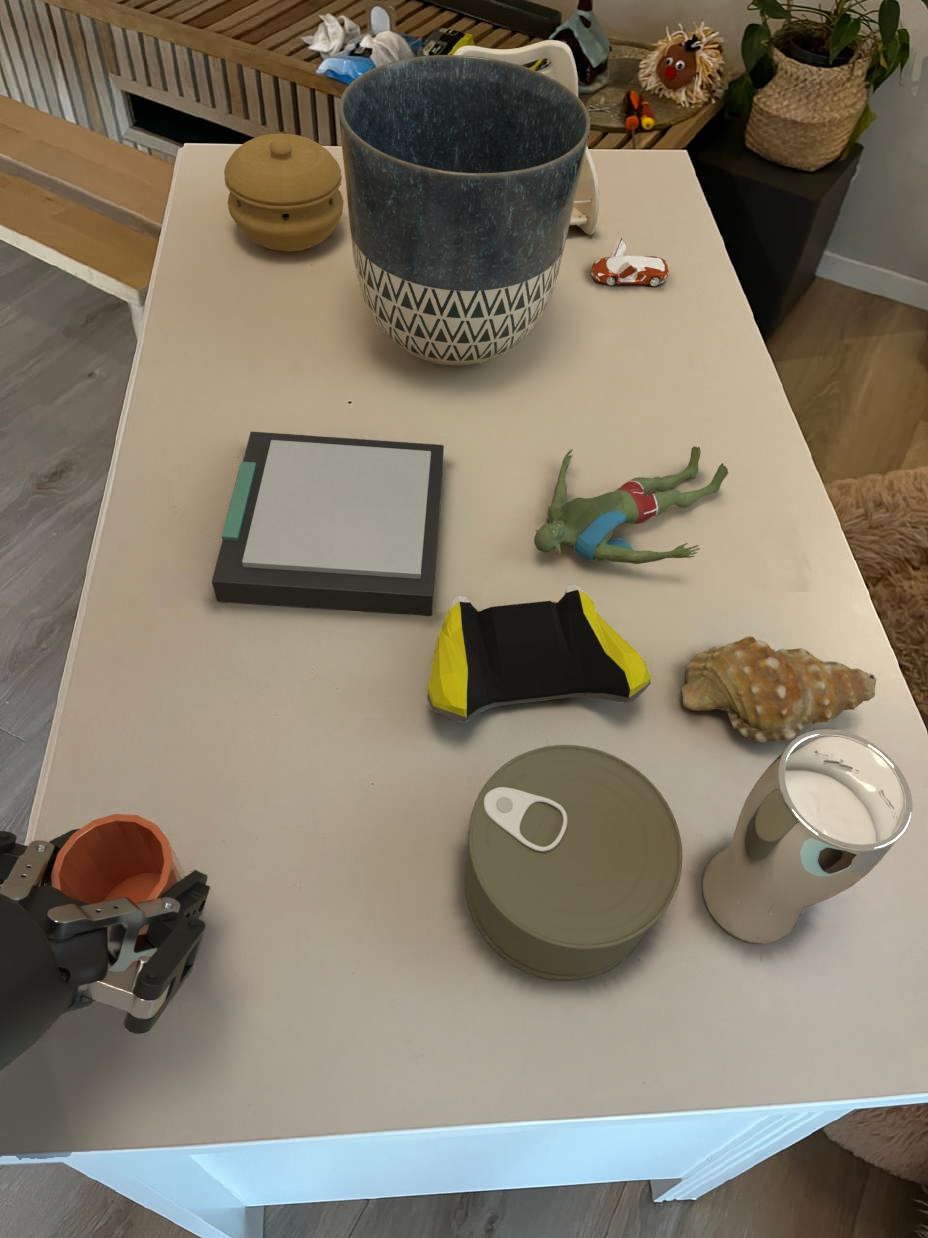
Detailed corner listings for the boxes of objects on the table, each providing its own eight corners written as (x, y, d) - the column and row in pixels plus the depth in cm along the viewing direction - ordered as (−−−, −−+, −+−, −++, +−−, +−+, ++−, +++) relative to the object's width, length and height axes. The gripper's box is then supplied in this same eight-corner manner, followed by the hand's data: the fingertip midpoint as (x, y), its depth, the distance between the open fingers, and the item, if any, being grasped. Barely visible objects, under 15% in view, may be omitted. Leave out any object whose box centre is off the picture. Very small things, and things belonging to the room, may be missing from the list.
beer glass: (691, 835, 59) (767, 717, 47) (799, 848, 59) (903, 733, 47) (697, 944, 55) (782, 845, 43) (813, 958, 55) (930, 863, 43)
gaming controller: (645, 726, 64) (607, 612, 69) (663, 683, 59) (622, 565, 65) (432, 753, 61) (411, 632, 67) (435, 711, 57) (412, 586, 63)
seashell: (754, 670, 71) (865, 618, 63) (775, 771, 67) (895, 729, 60) (666, 647, 66) (774, 588, 59) (683, 755, 63) (800, 706, 55)
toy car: (587, 261, 97) (592, 234, 95) (661, 264, 98) (668, 237, 95) (593, 290, 94) (598, 262, 92) (669, 293, 95) (676, 265, 92)
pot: (341, 205, 101) (337, 111, 93) (348, 266, 94) (344, 170, 86) (233, 206, 100) (219, 111, 92) (232, 268, 93) (216, 171, 85)
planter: (578, 396, 84) (625, 165, 67) (369, 420, 81) (363, 183, 63) (521, 274, 95) (548, 49, 78) (335, 291, 92) (321, 58, 74)
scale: (216, 601, 68) (210, 576, 65) (254, 452, 77) (249, 425, 75) (431, 615, 68) (433, 591, 66) (442, 465, 78) (444, 439, 75)
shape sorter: (566, 189, 106) (593, 18, 92) (595, 240, 100) (629, 64, 86) (399, 201, 102) (400, 24, 88) (419, 254, 96) (423, 74, 82)
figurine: (784, 500, 71) (604, 584, 64) (772, 539, 74) (598, 625, 67) (650, 410, 81) (480, 476, 74) (643, 448, 83) (479, 515, 76)
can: (613, 1023, 52) (639, 991, 46) (426, 924, 55) (430, 882, 49) (680, 846, 58) (710, 799, 53) (511, 765, 61) (522, 713, 56)
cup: (79, 968, 51) (35, 921, 44) (108, 867, 54) (70, 810, 48) (185, 974, 51) (155, 928, 45) (206, 873, 54) (182, 817, 48)
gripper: (84, 1021, 32) (282, 854, 48) (-241, 862, 34) (52, 754, 51) (33, 1199, 33) (243, 977, 50) (-276, 1033, 36) (21, 874, 52)
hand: (146, 865), depth 50 cm, fingers closed on cup, 6 cm apart
